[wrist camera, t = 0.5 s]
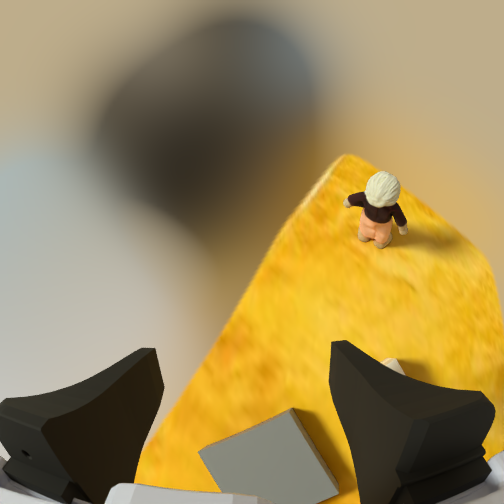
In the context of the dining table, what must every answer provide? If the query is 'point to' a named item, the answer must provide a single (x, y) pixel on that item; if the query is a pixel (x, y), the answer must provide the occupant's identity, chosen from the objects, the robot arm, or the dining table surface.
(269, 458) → the base plinth
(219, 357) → the dining table surface
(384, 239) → the grandmother figurine
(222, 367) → the dining table surface
